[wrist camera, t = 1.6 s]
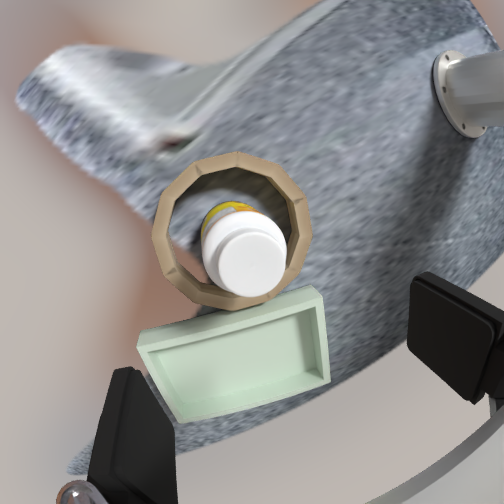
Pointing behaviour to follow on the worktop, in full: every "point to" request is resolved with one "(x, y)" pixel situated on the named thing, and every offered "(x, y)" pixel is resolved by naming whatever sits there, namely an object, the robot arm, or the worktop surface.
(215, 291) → the collar
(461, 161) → the worktop surface
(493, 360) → the robot arm
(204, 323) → the tray
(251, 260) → the supplement bottle
